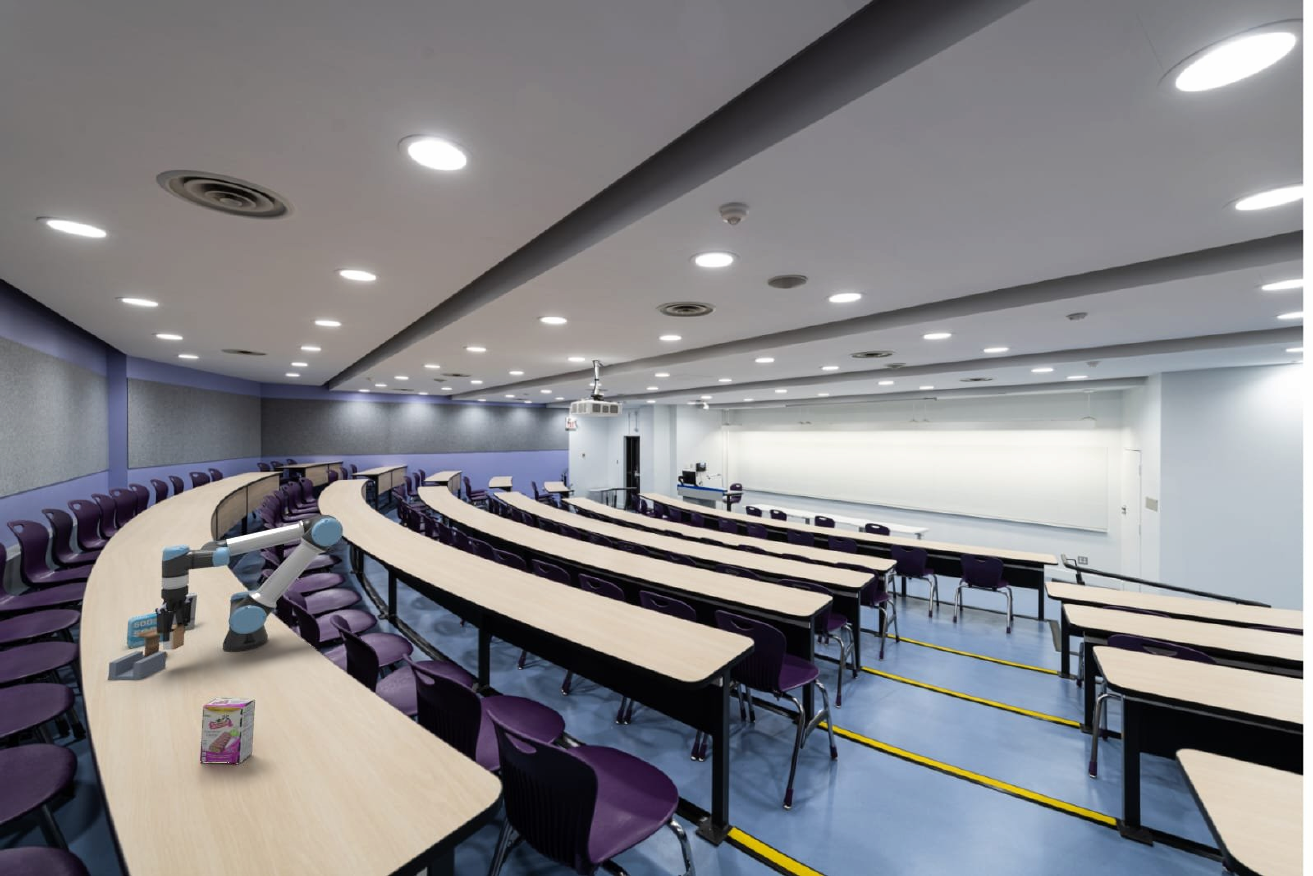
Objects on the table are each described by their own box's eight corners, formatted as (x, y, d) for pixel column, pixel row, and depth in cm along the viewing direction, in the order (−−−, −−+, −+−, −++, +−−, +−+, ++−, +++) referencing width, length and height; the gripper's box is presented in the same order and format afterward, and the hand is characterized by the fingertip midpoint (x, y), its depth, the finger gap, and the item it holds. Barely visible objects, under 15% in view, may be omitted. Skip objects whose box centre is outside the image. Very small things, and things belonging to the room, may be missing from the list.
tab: (183, 645, 189) (184, 624, 189) (174, 649, 185) (174, 628, 185) (172, 645, 189) (173, 624, 189) (163, 649, 185) (163, 628, 185)
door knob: (173, 654, 199) (175, 627, 200) (152, 664, 190) (154, 636, 191) (150, 654, 199) (151, 627, 199) (128, 664, 190) (129, 636, 190)
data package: (129, 649, 202) (131, 620, 202) (126, 646, 204) (128, 618, 205) (168, 640, 212) (170, 612, 213) (165, 637, 215) (167, 610, 215)
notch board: (165, 667, 188) (166, 651, 188) (139, 679, 178) (140, 663, 179) (135, 667, 188) (136, 651, 188) (108, 679, 178) (109, 662, 178)
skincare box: (170, 633, 219) (172, 598, 219) (167, 629, 223) (169, 595, 223) (195, 628, 226) (197, 594, 226) (192, 624, 230) (194, 591, 230)
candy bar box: (198, 764, 135) (201, 706, 136) (213, 753, 140) (217, 696, 141) (238, 765, 136) (242, 707, 136) (253, 754, 141) (256, 697, 141)
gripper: (184, 579, 195) (183, 637, 195) (143, 593, 178) (141, 656, 178) (204, 579, 196) (203, 637, 196) (164, 593, 179) (163, 656, 179)
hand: (173, 646), depth 187 cm, fingers closed on tab, 4 cm apart
